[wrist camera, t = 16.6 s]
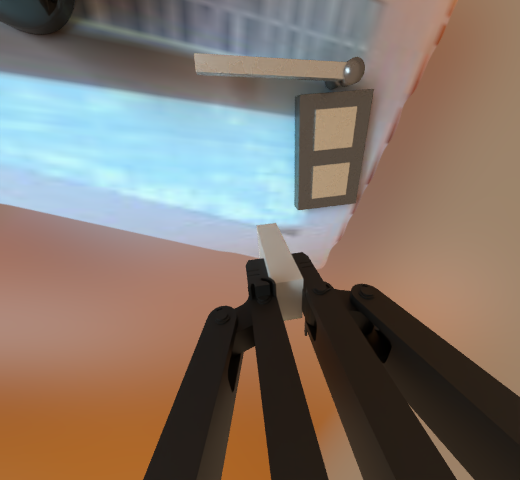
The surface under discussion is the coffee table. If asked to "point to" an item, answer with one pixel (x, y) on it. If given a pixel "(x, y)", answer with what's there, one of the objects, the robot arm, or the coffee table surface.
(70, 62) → the coffee table surface
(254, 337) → the robot arm
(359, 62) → the ball-tipped flat stick
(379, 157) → the coffee table surface
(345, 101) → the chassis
